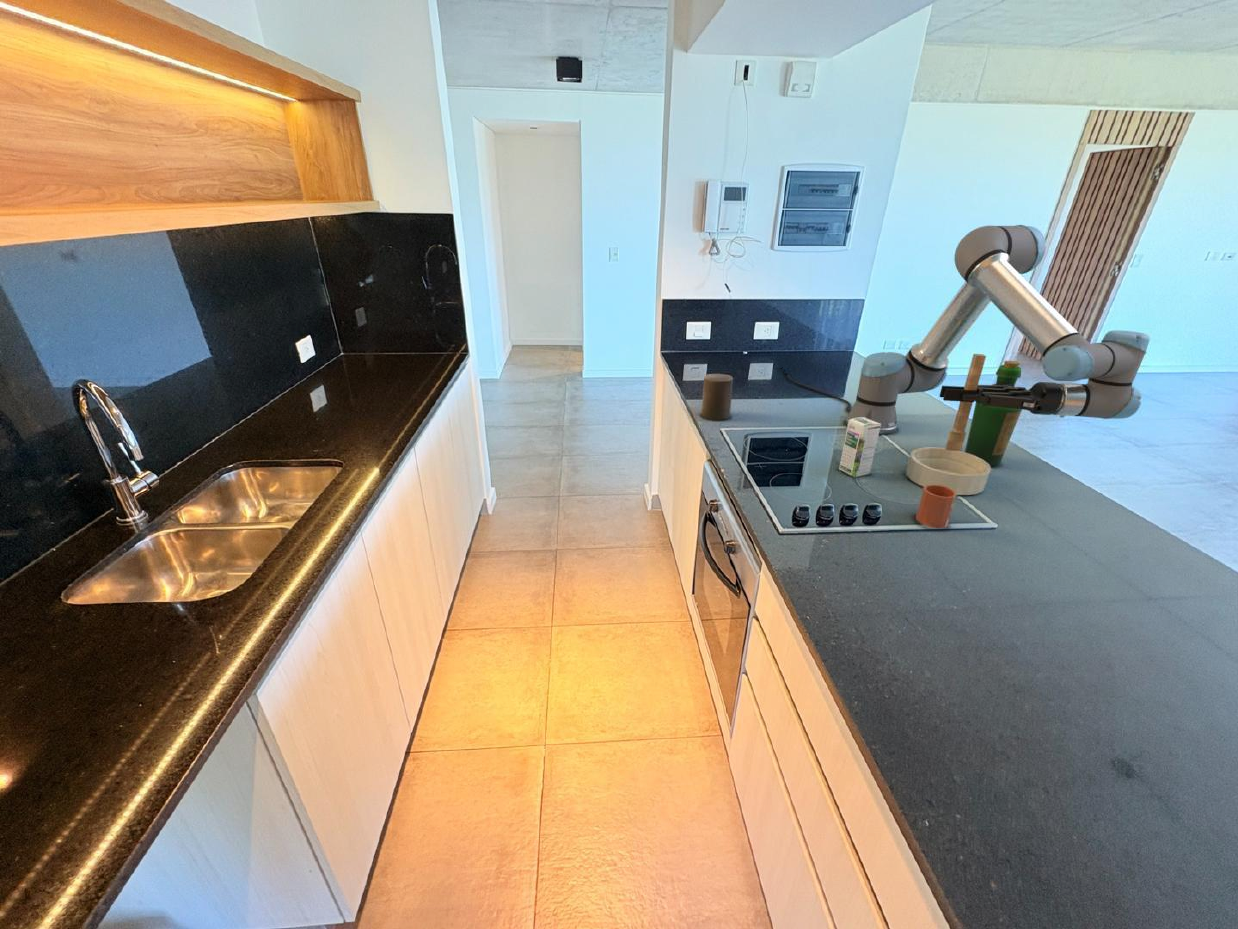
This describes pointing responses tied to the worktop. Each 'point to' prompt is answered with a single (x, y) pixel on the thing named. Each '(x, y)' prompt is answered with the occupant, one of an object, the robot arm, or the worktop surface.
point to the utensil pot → (935, 506)
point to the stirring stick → (965, 405)
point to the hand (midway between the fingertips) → (943, 393)
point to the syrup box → (859, 446)
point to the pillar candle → (717, 396)
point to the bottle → (994, 421)
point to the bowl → (948, 470)
